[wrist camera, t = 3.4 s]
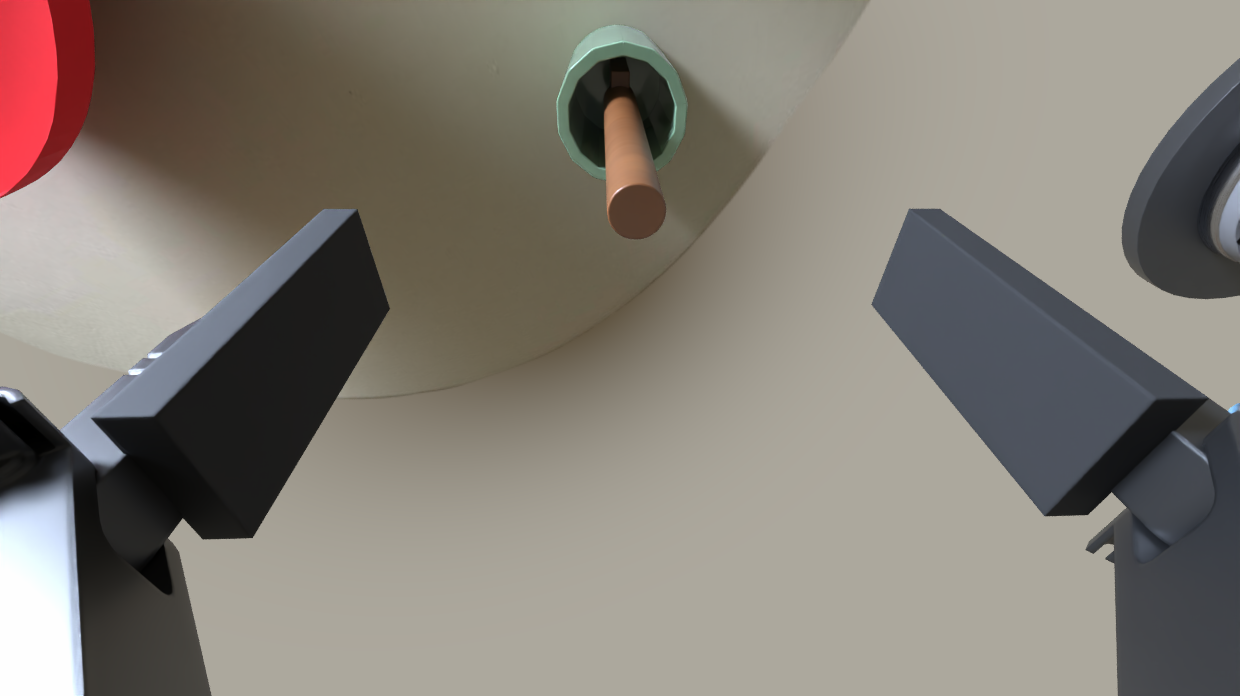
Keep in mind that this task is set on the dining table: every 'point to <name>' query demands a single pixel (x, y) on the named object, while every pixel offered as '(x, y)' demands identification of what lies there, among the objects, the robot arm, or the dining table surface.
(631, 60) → the crock
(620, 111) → the stick
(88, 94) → the bowl
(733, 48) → the dining table surface
